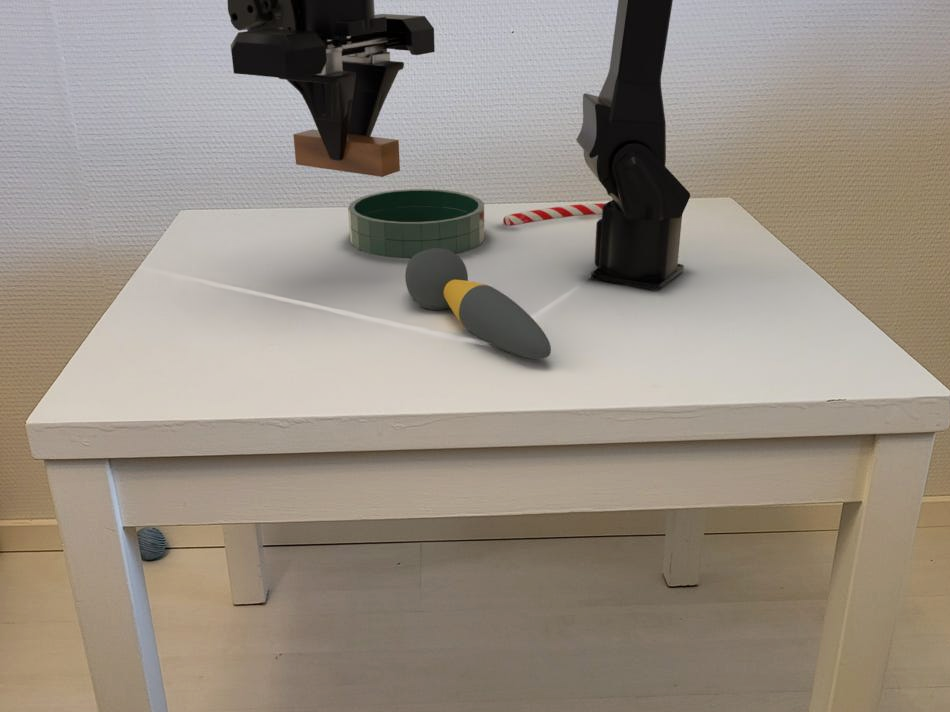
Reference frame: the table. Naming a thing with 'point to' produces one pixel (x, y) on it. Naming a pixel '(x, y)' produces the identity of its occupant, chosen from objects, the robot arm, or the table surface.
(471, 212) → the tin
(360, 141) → the block
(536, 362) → the table surface
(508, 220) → the candy cane
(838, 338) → the table surface
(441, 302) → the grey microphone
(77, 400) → the table surface
